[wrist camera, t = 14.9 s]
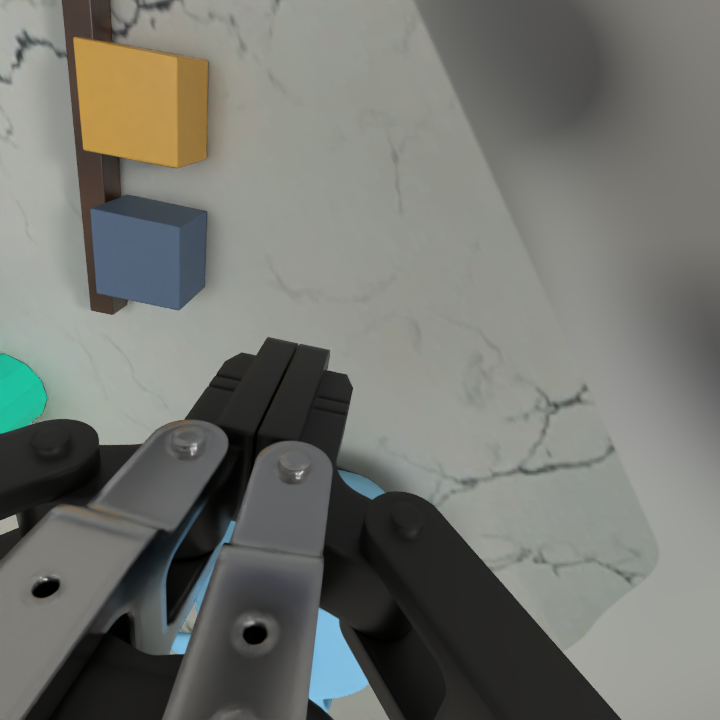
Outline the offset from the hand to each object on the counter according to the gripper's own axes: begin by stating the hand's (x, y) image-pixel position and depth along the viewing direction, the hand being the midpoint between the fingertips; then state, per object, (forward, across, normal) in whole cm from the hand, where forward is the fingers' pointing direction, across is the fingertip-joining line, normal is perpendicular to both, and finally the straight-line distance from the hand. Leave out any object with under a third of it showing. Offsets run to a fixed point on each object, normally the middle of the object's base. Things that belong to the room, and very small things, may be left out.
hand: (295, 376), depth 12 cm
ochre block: (+20, +12, -3) cm, 24 cm away
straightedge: (+20, +16, 0) cm, 25 cm away
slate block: (+20, +12, +5) cm, 24 cm away
